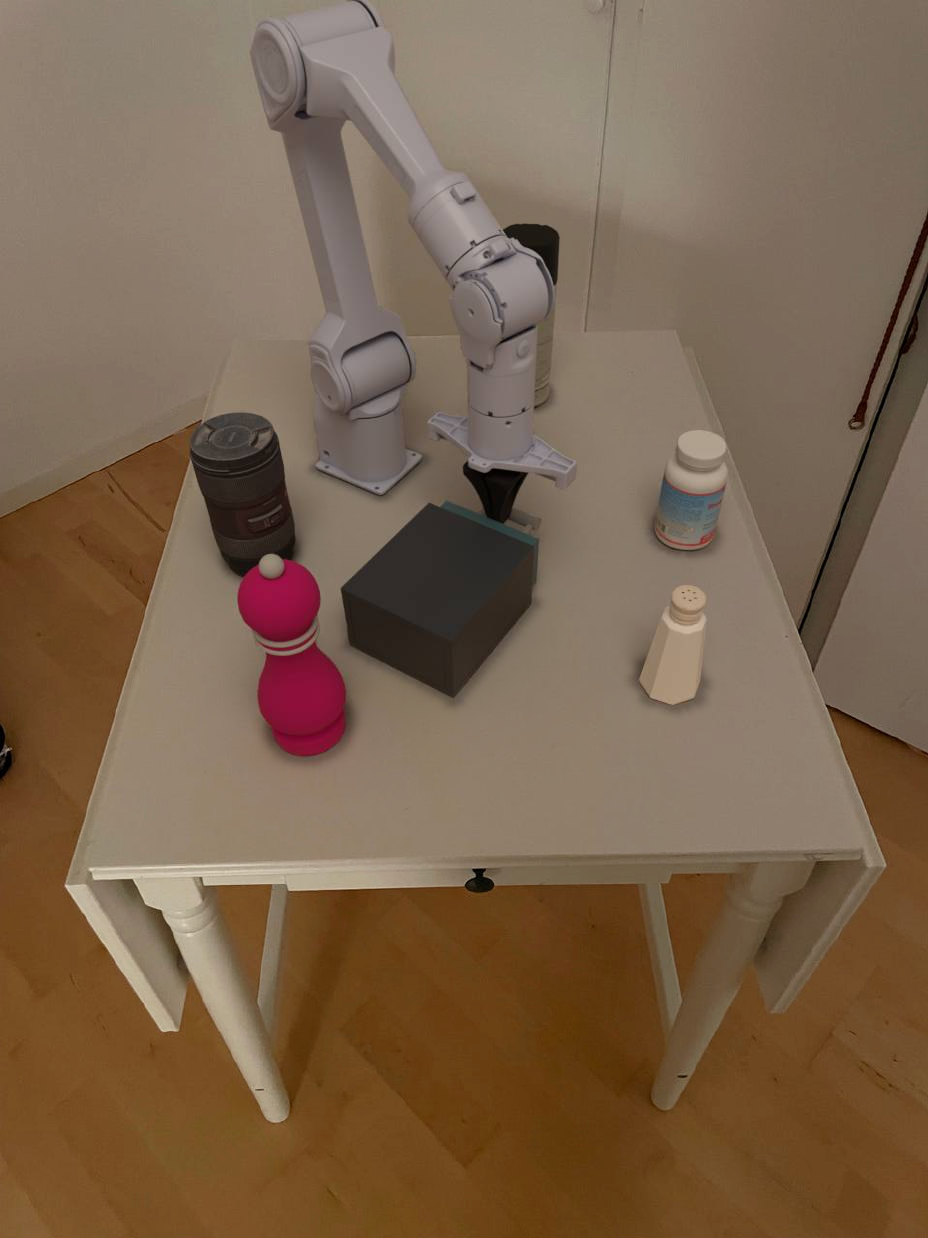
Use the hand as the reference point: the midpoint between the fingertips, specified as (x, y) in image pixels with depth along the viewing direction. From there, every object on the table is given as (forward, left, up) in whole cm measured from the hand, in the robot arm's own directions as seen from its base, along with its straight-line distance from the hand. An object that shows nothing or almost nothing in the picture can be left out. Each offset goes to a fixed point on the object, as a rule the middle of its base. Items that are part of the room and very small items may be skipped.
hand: (499, 519), depth 88 cm
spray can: (-13, +27, -6) cm, 30 cm away
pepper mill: (-3, -26, -6) cm, 27 cm away
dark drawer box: (0, -10, -6) cm, 12 cm away
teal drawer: (0, -5, -5) cm, 7 cm away
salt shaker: (+21, -5, -6) cm, 22 cm away
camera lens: (-21, -12, -6) cm, 25 cm away
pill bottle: (+14, +14, -6) cm, 21 cm away
